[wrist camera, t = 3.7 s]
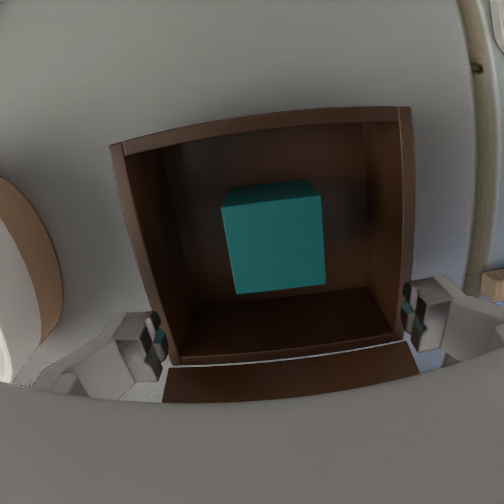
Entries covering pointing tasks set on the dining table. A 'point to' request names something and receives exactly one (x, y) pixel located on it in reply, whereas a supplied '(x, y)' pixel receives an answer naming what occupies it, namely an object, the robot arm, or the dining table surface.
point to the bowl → (24, 282)
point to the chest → (260, 172)
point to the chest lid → (290, 376)
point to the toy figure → (493, 285)
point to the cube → (275, 236)
